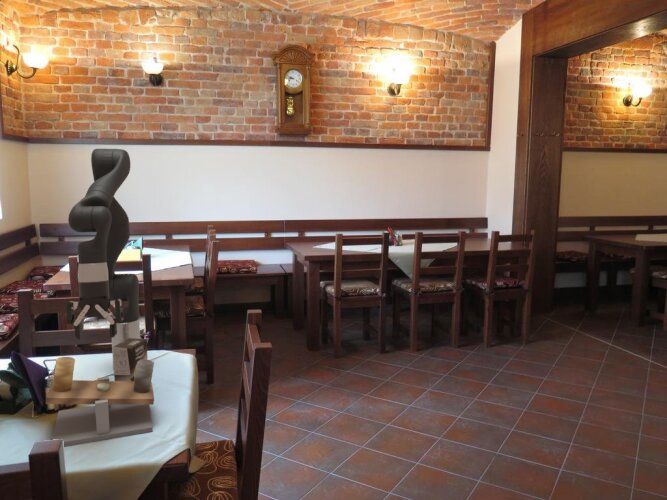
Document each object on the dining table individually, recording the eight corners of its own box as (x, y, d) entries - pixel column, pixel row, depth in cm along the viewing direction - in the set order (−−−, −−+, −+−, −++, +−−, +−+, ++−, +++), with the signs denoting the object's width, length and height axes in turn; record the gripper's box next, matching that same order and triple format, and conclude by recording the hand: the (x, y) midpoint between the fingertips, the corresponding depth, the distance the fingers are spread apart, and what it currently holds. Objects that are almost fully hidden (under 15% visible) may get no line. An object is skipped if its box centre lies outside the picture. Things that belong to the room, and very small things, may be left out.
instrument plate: (45, 404, 131) (49, 368, 130) (51, 384, 143) (55, 350, 142) (153, 405, 141) (158, 371, 140) (150, 386, 153) (155, 355, 153)
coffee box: (133, 399, 158) (130, 348, 156) (114, 397, 160) (111, 346, 157) (149, 386, 167) (147, 338, 164) (131, 385, 168) (129, 337, 166)
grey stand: (51, 448, 131) (48, 411, 129) (59, 414, 148) (56, 382, 146) (152, 431, 139) (150, 397, 138) (148, 401, 157) (147, 370, 155)
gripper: (124, 277, 147) (127, 334, 148) (71, 279, 146) (74, 336, 146) (116, 279, 140) (119, 339, 141) (60, 281, 138) (63, 342, 139)
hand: (96, 338), depth 144 cm, fingers open, 8 cm apart
